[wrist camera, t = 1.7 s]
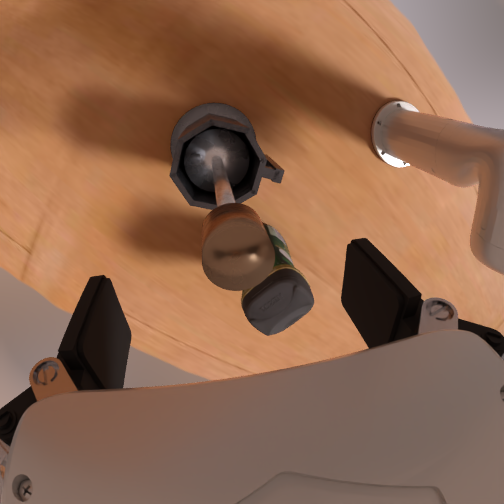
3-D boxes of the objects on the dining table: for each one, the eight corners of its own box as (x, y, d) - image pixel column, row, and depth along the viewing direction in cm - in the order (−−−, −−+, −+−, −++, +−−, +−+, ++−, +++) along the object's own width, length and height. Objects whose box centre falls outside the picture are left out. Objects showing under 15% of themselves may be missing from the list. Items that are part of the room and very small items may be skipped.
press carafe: (272, 116, 43) (308, 126, 28) (249, 192, 49) (271, 238, 34) (182, 95, 39) (169, 91, 25) (163, 175, 45) (144, 214, 30)
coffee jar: (251, 276, 57) (271, 348, 41) (223, 250, 53) (233, 321, 37) (291, 244, 55) (327, 308, 39) (264, 215, 51) (294, 274, 35)
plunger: (256, 137, 32) (341, 203, 12) (239, 196, 35) (287, 329, 16) (192, 122, 30) (171, 162, 11) (178, 183, 33) (148, 311, 14)
